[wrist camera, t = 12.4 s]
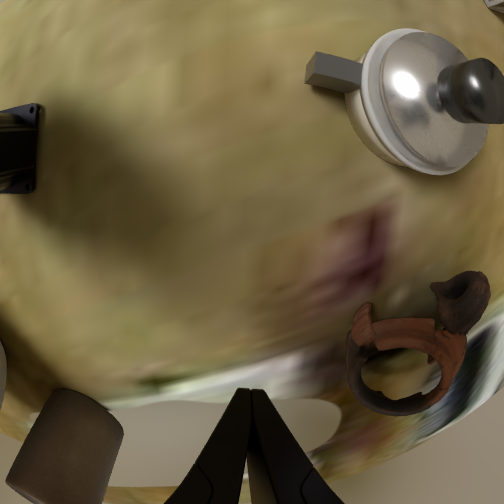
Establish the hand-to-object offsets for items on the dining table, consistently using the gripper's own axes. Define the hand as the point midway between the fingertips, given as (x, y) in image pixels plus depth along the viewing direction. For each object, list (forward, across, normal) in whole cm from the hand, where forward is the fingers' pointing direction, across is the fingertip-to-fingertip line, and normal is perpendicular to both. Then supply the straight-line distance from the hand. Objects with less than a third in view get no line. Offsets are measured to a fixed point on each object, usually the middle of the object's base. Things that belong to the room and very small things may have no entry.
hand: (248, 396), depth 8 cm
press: (+10, -7, -12) cm, 17 cm away
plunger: (+6, -8, -12) cm, 16 cm away
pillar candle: (+10, +16, +21) cm, 28 cm away
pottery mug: (+10, -13, +3) cm, 16 cm away
